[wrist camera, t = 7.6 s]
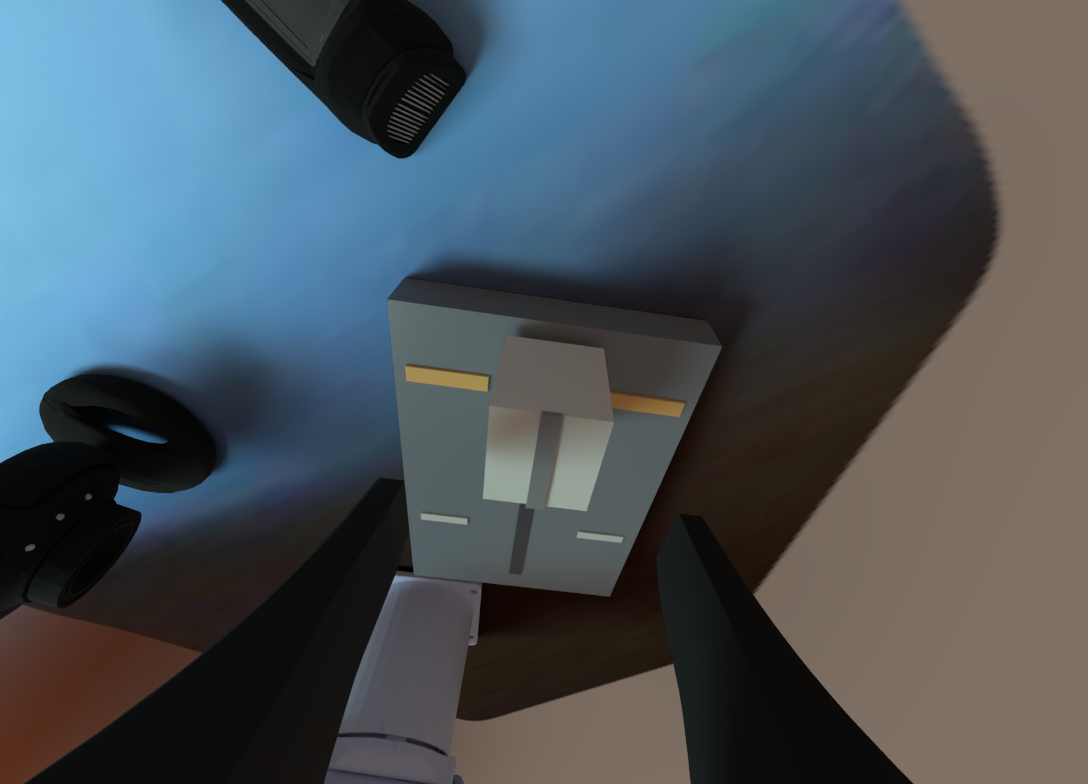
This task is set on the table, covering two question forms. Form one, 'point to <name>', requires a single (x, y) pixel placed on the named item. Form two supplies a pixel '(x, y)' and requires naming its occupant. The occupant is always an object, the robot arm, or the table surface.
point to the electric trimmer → (363, 62)
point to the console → (462, 425)
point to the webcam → (88, 487)
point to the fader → (547, 424)
